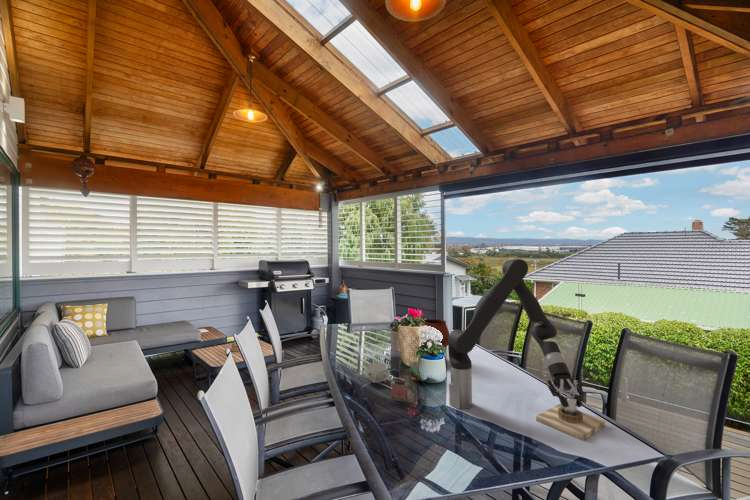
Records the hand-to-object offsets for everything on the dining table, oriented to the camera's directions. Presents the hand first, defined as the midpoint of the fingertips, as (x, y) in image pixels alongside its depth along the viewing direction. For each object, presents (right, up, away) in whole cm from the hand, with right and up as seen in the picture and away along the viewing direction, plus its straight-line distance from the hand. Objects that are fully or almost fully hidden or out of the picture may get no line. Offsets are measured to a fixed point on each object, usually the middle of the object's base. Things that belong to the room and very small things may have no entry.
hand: (572, 406), depth 138 cm
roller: (0, -6, +2) cm, 6 cm away
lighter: (-67, -9, +26) cm, 72 cm away
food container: (-53, -8, +49) cm, 73 cm away
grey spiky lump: (-76, -8, +48) cm, 90 cm away
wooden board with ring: (0, -8, +2) cm, 8 cm away
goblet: (-41, -7, +79) cm, 89 cm away
